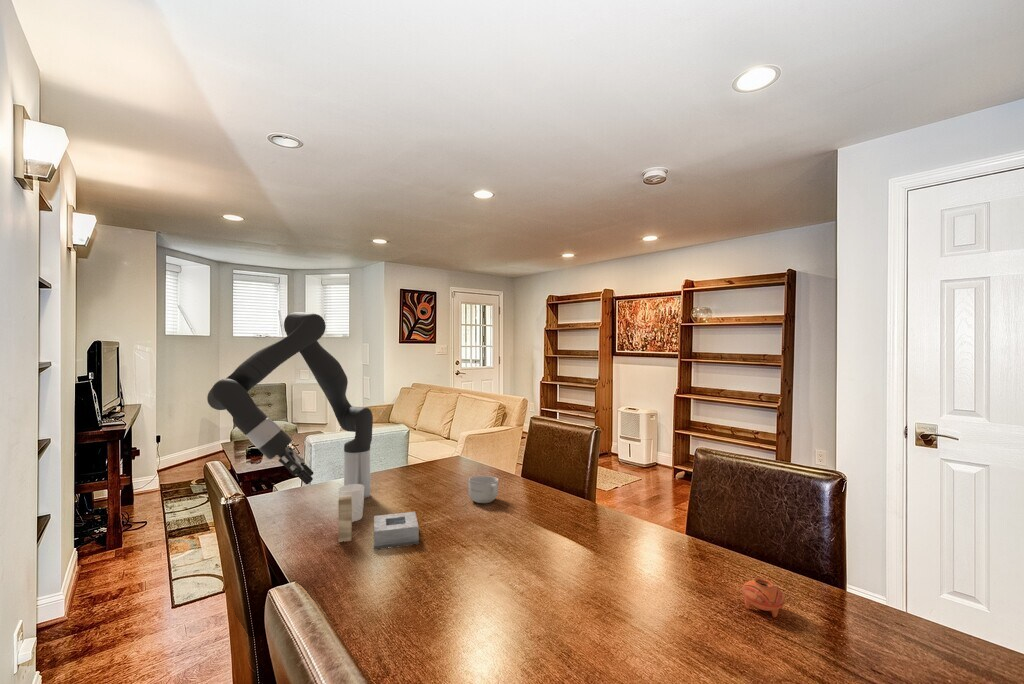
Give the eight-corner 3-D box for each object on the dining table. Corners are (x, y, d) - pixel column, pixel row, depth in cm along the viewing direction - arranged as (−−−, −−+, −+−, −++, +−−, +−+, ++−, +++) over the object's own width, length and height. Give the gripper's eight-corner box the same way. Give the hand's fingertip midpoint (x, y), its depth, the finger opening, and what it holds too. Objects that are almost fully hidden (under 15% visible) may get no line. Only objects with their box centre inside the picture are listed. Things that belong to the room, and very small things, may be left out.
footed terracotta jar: (742, 593, 101) (750, 565, 100) (781, 614, 96) (790, 585, 95) (733, 608, 94) (742, 578, 94) (775, 631, 90) (784, 600, 89)
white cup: (368, 514, 150) (368, 484, 150) (357, 523, 142) (357, 491, 142) (345, 513, 151) (345, 483, 151) (334, 522, 143) (333, 491, 143)
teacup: (464, 498, 166) (464, 476, 166) (491, 494, 170) (491, 472, 170) (477, 510, 153) (477, 487, 153) (507, 506, 157) (507, 482, 158)
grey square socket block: (374, 532, 135) (374, 515, 135) (415, 527, 139) (414, 511, 139) (374, 549, 124) (374, 531, 124) (418, 544, 127) (418, 526, 127)
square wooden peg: (339, 537, 132) (339, 496, 132) (351, 535, 133) (351, 495, 133) (338, 542, 129) (338, 499, 129) (351, 540, 130) (351, 498, 130)
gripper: (278, 431, 120) (321, 474, 123) (282, 425, 133) (321, 464, 136) (253, 451, 117) (298, 494, 121) (260, 444, 131) (300, 483, 134)
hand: (310, 478), depth 129 cm, fingers open, 8 cm apart
